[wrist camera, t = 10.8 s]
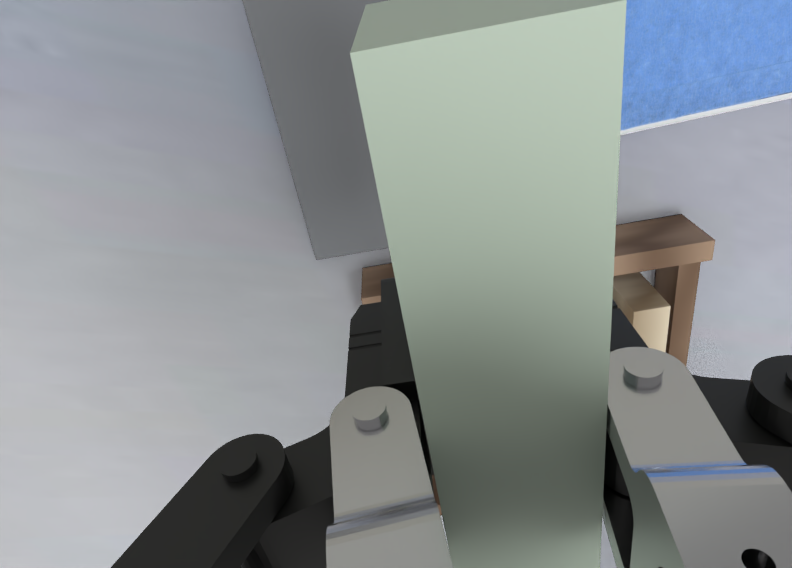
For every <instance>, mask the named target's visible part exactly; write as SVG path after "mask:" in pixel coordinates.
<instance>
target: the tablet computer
mask: <svg viewBox="0 0 792 568" xmlns="http://www.w3.org/2000/svg"><path fill="white" fill-rule="evenodd" d="M787 99H792V0H627V3H626V24H625V45H624V66H623V88H622V109H621V130H620V135H625V134H630V133H634V132H638V131H643V130H647V129H652V128H657V127H662V126H666V125H671V124H676V123H680V122H685V121H689V120H694V119H699V118H703V117H708V116H713V115H718V114H722V113H727V112H731V111H736V110H740V109H745V108H750V107H754V106H759V105H763V104H768V103H773V102H777V101H782V100H787Z"/></svg>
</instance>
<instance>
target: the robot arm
mask: <svg viewBox="0 0 792 568" xmlns="http://www.w3.org/2000/svg"><path fill="white" fill-rule="evenodd" d="M432 475H434V471H433V466H432V461H431V456H430V451H429V446H428V441H427V436H426V431H425V426H424V421H423V416H422V411H421V406H420V401H419V396H418V391H417V386H416V381H415V376H414V371H413V366H412V361H411V356H410V351H409V346H408V341H407V336H406V331H405V326H404V321H403V316H402V311H401V306H400V301H399V296H398V291H397V286H396V281H395V277H393V278H387V279H381V302H376V303H370V304H364V305H361V306H360V307H359V309H358V310H357V311H356V313H355V314H354V316H353V317H352V319H351V323H350V338H349V351H348V363H347V377H346V390H345V398H344V399H343V400H342V401H341V402H340V403H339V404H338V405H337V406H336V407H335V409H334V410H333V412H332V414H331V418H330V425H329V426H328V427H327V428H325V429H324V430H323V431H321V432H319V433H318V434H316V435H314V436H312V437H310V438H308V439H305V440H303V441H301V442H298V443H296V444H293V445H291V446H289V447H286V448H283V446H282V444H281V443H280V442H279V441H278V440H277V439H275V438H274V437H272V436H269V435H265V434H251V435H246V436H242V437H239V438H236V439H234V440H232V441H230V442H228V443H226V444H225V445H223V446H222V447H220V448H219V449H218V450H216V451H215V452H214V453H213V454H212V455H211V456H210V457H209V458H208V459H207V460H206V461H205V463H204V464H203V465H202V466H201V467H200V468H199V469H198V470H197V471H196V473H195V474H194V475H193V476H192V477H191V478H190V479H189V480H188V482H187V483H186V484H185V485H184V486H183V487H182V488H181V489H180V491H179V492H178V493H177V494H176V495H175V496H174V497H173V498H172V500H171V501H170V502H169V503H168V504H167V505H166V506H165V507H164V508H163V510H162V511H161V512H160V513H159V514H158V515H157V516H156V517H155V519H154V520H153V521H152V522H151V523H150V524H149V525H148V526H147V528H146V529H145V530H144V531H143V532H142V533H141V534H140V535H139V537H138V538H137V539H136V540H135V541H134V542H133V543H132V544H131V545H130V547H129V548H128V549H127V550H126V551H125V552H124V553H123V554H122V556H121V557H120V558H119V559H118V560H117V561H116V562H115V563H114V565H113V566H112V567H111V568H453V565H452V561H451V557H450V553H449V549H448V545H447V541H446V537H445V533H444V529H443V525H442V521H441V517H440V513H439V509H438V506H437V502H436V499H435V498H434V491H433V482H432ZM602 516H603V520H604V524H605V527H606V531H607V534H608V538H609V541H610V545H611V548H612V552H613V555H614V559H615V562H616V566H617V568H792V355H784V356H775V357H771V358H768V359H765V360H763V361H761V362H759V363H758V364H757V365H756V366H755V367H754V369H753V371H752V376H751V380H750V381H749V380H735V379H721V378H708V377H701V376H696V375H691V373H690V372H689V370H688V369H687V367H686V366H685V365H684V364H683V363H682V362H681V361H680V360H678V359H677V358H675V357H674V356H672V355H670V354H668V353H665V352H663V351H660V350H656V349H652V348H649V347H648V346H647V345H646V343H645V342H644V341H643V339H642V338H641V337H640V335H639V334H638V332H637V331H636V330H635V328H634V327H633V326H632V324H631V323H630V322H629V320H628V319H627V318H626V316H625V315H624V313H623V312H622V311H621V309H620V308H618V307H617V304H616V303H615V301H614V300H613V299H612V320H611V341H610V362H609V383H608V404H607V426H606V447H605V468H604V489H603V510H602Z"/></svg>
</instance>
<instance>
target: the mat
mask: <svg viewBox="0 0 792 568" xmlns="http://www.w3.org/2000/svg"><path fill="white" fill-rule="evenodd" d="M242 1H243V4H244V8H245V11H246V15H247V18H248V22H249V25H250V29H251V32H252V36H253V39H254V43H255V46H256V50H257V53H258V57H259V61H260V64H261V68H262V71H263V75H264V78H265V82H266V85H267V89H268V92H269V96H270V99H271V103H272V106H273V110H274V113H275V117H276V120H277V124H278V127H279V131H280V134H281V138H282V141H283V145H284V149H285V152H286V156H287V159H288V163H289V166H290V170H291V173H292V177H293V180H294V184H295V187H296V191H297V194H298V198H299V201H300V205H301V208H302V212H303V215H304V219H305V222H306V226H307V229H308V233H309V236H310V240H311V244H312V247H313V251H314V254H315V258H316V260H320V259H326V258H332V257H337V256H343V255H349V254H355V253H361V252H367V251H373V250H379V249H384V248H389V246H388V241H387V236H386V231H385V226H384V221H383V216H382V211H381V206H380V201H379V196H378V191H377V186H376V181H375V176H374V171H373V166H372V161H371V156H370V151H369V146H368V141H367V136H366V131H365V126H364V121H363V116H362V111H361V106H360V101H359V96H358V91H357V86H356V81H355V76H354V71H353V66H352V61H351V56H350V51H351V48H352V45H353V42H354V39H355V36H356V33H357V30H358V27H359V24H360V21H361V18H362V15H363V12H364V9H365V6H366V5H367V4H373V3H378V2H383V1H388V0H242Z"/></svg>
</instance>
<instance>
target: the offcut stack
mask: <svg viewBox="0 0 792 568" xmlns="http://www.w3.org/2000/svg"><path fill="white" fill-rule="evenodd" d="M613 300H614V301H615V303H616V304H617V307H618V308H620V309H621V311H622V312H623V313H624V315H625V316H626V318H627V319H628V320H629V322H630V323H631V324H632V326H633V327H634V328H635V330H636V331H637V332H638V334H639V335H640V337H641V338H642V339H643V341H644V342H645V343H646V345H647V346H648V347H649V348H652V349H656V350H660V351H663V352H666V343H667V334H668V325H669V317H670V308H671V306H670V305H669V304H668V302H667V301H666V300H665V299H664V298H663V297H662V296H661V295H660V294H659V293H658V292H657V291H656V289H655V288H654V287H653V286H652V285H651V284H650V283H649V282H648V281H647V280H646V279H645V278H644V277H643V275H642V274H641V273H640V272H636V273H629V274H623V275H617V276H614V278H613Z"/></svg>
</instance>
